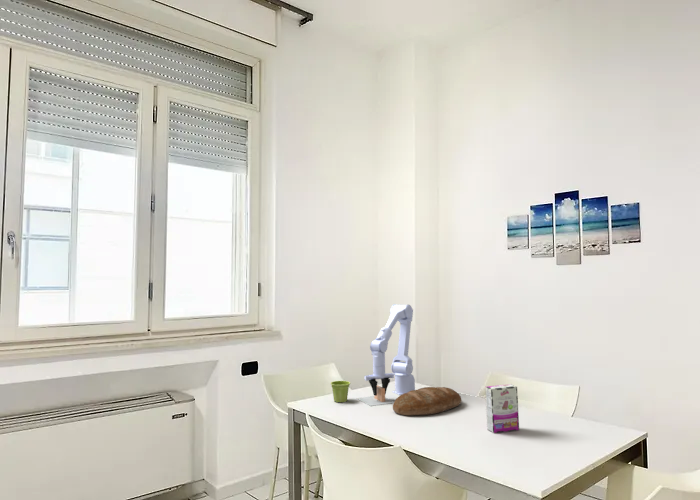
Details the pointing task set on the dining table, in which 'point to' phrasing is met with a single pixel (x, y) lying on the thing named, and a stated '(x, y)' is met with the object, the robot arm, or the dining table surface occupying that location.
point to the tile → (380, 394)
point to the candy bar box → (502, 408)
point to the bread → (426, 401)
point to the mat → (374, 401)
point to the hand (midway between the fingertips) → (379, 394)
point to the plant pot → (340, 390)
